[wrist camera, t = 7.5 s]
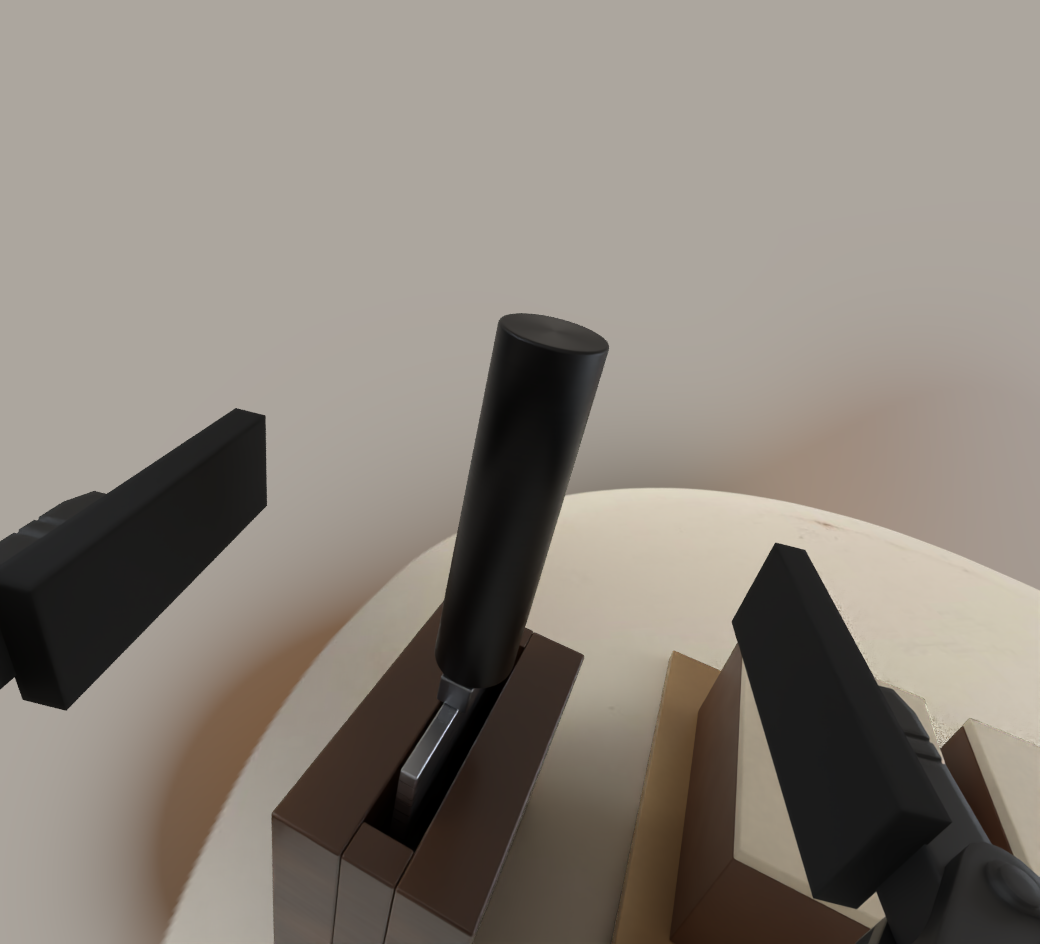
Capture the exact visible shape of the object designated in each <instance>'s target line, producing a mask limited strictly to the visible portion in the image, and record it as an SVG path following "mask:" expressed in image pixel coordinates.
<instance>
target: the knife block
mask: <svg viewBox="0 0 1040 944" xmlns="http://www.w3.org/2000/svg"><path fill="white" fill-rule="evenodd" d="M443 604H444V601H443V602H442V604H441V605H440V606H439V607H438V609H437V610H436V611H435V612H434V614H433V615H432V616H431V617H430V618H429V620H428V621H427V622H426V623H425V625H424V626H423V627H422V628H421V630H420V631H419V632H418V633H417V634H416V636H415V637H414V638H413V639H412V641H411V642H410V643H409V644H408V646H407V647H406V648H405V649H404V651H403V652H402V653H401V654H400V655H399V657H398V658H397V659H396V660H395V662H394V663H393V664H392V665H391V667H390V668H389V669H388V670H387V672H386V673H385V674H384V675H383V676H382V678H381V679H380V680H379V681H378V683H377V684H376V685H375V686H374V688H373V689H372V690H371V691H370V692H369V694H368V695H367V696H366V697H365V699H364V700H363V701H362V702H361V704H360V705H359V706H358V707H357V709H356V710H355V711H354V712H353V713H352V715H351V716H350V717H349V718H348V720H347V721H346V722H345V723H344V725H343V726H342V727H341V728H340V730H339V731H338V732H337V733H336V734H335V736H334V737H333V738H332V739H331V741H330V742H329V743H328V744H327V746H326V747H325V748H324V749H323V750H322V752H321V753H320V754H319V755H318V757H317V758H316V759H315V760H314V762H313V763H312V764H311V765H310V767H309V768H308V769H307V770H306V771H305V773H304V774H303V775H302V776H301V778H300V779H299V780H298V781H297V783H296V784H295V785H294V786H293V788H292V789H291V790H290V791H289V792H288V794H287V795H286V796H285V797H284V799H283V800H282V801H281V802H280V804H279V805H278V806H277V807H276V808H275V810H274V811H273V812H272V867H273V922H274V944H473V941H474V939H475V936H476V934H477V931H478V929H479V926H480V924H481V921H482V918H483V916H484V913H485V911H486V908H487V906H488V903H489V901H490V898H491V896H492V893H493V891H494V888H495V885H496V883H497V880H498V878H499V875H500V873H501V870H502V868H503V865H504V863H505V860H506V857H507V855H508V852H509V850H510V847H511V845H512V842H513V840H514V837H515V835H516V832H517V830H518V827H519V824H520V822H521V819H522V817H523V814H524V812H525V809H526V807H527V804H528V802H529V799H530V796H531V794H532V791H533V789H534V786H535V784H536V781H537V778H538V776H539V773H540V771H541V768H542V765H543V763H544V760H545V758H546V755H547V753H548V750H549V747H550V745H551V742H552V740H553V737H554V734H555V732H556V729H557V727H558V724H559V722H560V719H561V716H562V714H563V711H564V709H565V706H566V703H567V701H568V698H569V696H570V693H571V691H572V688H573V685H574V683H575V680H576V678H577V675H578V672H579V670H580V667H581V665H582V662H583V660H584V655H583V654H581V653H579V652H576V651H574V650H572V649H570V648H568V647H565V646H563V645H561V644H559V643H557V642H555V641H552V640H550V639H548V638H546V637H544V636H542V635H539V634H537V633H533V631H531V630H529V629H527V628H525V629H524V632H523V636H522V639H521V642H520V646H519V649H518V652H517V656H516V659H515V662H514V666H513V669H512V671H511V673H510V674H509V675H508V677H507V678H506V679H504V680H503V681H502V682H500V683H499V684H497V686H496V690H495V693H494V696H493V700H492V703H491V707H490V710H489V714H488V717H487V719H486V721H485V723H484V725H483V727H482V728H481V730H480V732H479V734H478V736H477V738H476V740H475V741H474V743H473V745H472V747H471V749H470V751H469V753H468V754H467V756H466V758H465V760H464V762H463V764H462V766H461V767H460V769H459V771H458V773H457V775H456V777H455V778H454V780H453V782H452V784H451V786H450V788H449V790H448V791H447V793H446V795H445V797H444V799H443V801H442V803H441V804H440V806H439V808H438V810H437V812H436V814H435V816H434V817H433V819H432V821H431V823H430V825H429V827H428V829H427V830H426V832H425V834H424V836H423V838H422V840H421V842H420V843H419V845H418V847H417V849H416V851H415V853H414V852H413V850H412V849H410V848H408V847H406V846H405V845H403V844H401V843H400V842H398V841H396V840H394V839H393V838H391V837H389V833H390V828H391V822H392V816H393V811H394V805H395V800H396V794H397V789H398V783H399V777H400V772H401V769H402V767H403V766H404V764H405V763H406V761H407V760H408V758H409V756H410V755H411V753H412V752H413V750H414V749H415V747H416V746H417V744H418V742H419V741H420V739H421V738H422V736H423V735H424V733H425V732H426V730H427V728H428V727H429V725H430V724H431V722H432V721H433V719H434V718H435V716H436V714H437V713H438V711H439V710H440V708H441V707H442V705H443V704H444V702H442V701H440V700H438V699H437V694H438V689H439V684H440V679H441V676H442V675H443V673H442V671H441V670H440V668H439V667H438V665H437V662H436V659H435V653H434V652H435V645H436V640H437V634H438V629H439V624H440V619H441V614H442V609H443ZM413 854H414V855H413Z"/></svg>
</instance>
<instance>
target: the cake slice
mask: <svg viewBox="0 0 1040 944" xmlns="http://www.w3.org/2000/svg"><path fill="white" fill-rule="evenodd" d="M941 752H942V756H943V759H944V762H945V765H946V766H947V768H948V770H949V771H950V773H951V775H952V777H953V778H954V780H955V782H956V784H957V785H958V787H959V789H960V790H961V792H962V794H963V796H964V797H965V799H966V801H967V802H968V804H969V806H970V808H971V809H972V811H973V813H974V814H975V816H976V818H977V820H978V821H979V823H980V825H981V827H982V828H983V830H984V832H985V833H986V835H987V837H988V839H989V840H990V842H991V844H992V845H995V846H998V847H1000V848H1002V849H1004V850H1005V851H1007V852H1009V853H1010V854H1012V855H1013V856H1015V857H1017V858H1018V859H1020V860H1021V861H1022V862H1023V863H1024V864H1026V865H1027V866H1028V867H1029V868H1030V869H1031V870H1032V871H1033V872H1034V873H1036V874H1037V875H1038V876H1039V877H1040V747H1039V746H1037V745H1035V744H1032V743H1030V742H1027V741H1025V740H1023V739H1020V738H1018V737H1015V736H1013V735H1011V734H1008V733H1006V732H1003V731H1001V730H999V729H996V728H994V727H991V726H989V725H987V724H984V723H982V722H979V721H977V720H974V719H972V718H969V719H968V720H967V721H966V722H965V723H964V725H963V726H962V727H961V728H960V729H959V730H958V731H957V732H956V733H955V734H954V735H953V736H952V737H951V738H950V739H949V740H948V741H947V742H946V743H945V744H944V745H943V747H942V748H941Z"/></svg>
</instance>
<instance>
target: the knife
mask: <svg viewBox="0 0 1040 944" xmlns="http://www.w3.org/2000/svg"><path fill="white" fill-rule="evenodd" d="M608 351H609V345H608V343H607V341H606V340H605V339H604V338H603V337H601V336H600V335H598V334H597V333H595V332H593V331H592V330H589V329H587V328H585V327H583V326H580V325H578V324H575V323H571V322H569V321H565V320H562V319H558V318H554V317H549V316H543V315H536V314H523V313H519V314H509V315H505V316H503V317H502V318H501V319H500V320H499V322H498V327H497V332H496V337H495V342H494V348H493V353H492V357H491V363H490V368H489V373H488V379H487V383H486V388H485V394H484V399H483V405H482V409H481V414H480V419H479V424H478V430H477V435H476V440H475V445H474V450H473V456H472V460H471V465H470V470H469V475H468V481H467V486H466V491H465V496H464V501H463V506H462V511H461V517H460V522H459V527H458V532H457V537H456V542H455V547H454V552H453V557H452V563H451V568H450V573H449V578H448V583H447V588H446V593H445V598H444V604H443V609H442V614H441V619H440V624H439V629H438V634H437V640H436V645H435V652H434V653H435V659H436V662H437V665H438V667H439V668H440V670H441V671H442V673H443V675H442V676H441V679H440V684H439V689H438V694H437V699H438V700H440V701H442V702H444V704H443V705H442V707H441V708H440V710H439V711H438V713H437V714H436V716H435V718H434V719H433V721H432V722H431V724H430V725H429V727H428V728H427V730H426V732H425V733H424V735H423V736H422V738H421V739H420V741H419V742H418V744H417V746H416V747H415V749H414V750H413V752H412V753H411V755H410V756H409V758H408V760H407V761H406V763H405V764H404V766H403V767H402V769H401V772H400V777H399V783H398V789H397V794H396V800H395V805H394V811H393V816H392V822H391V828H390V833H389V837H391V838H393V839H394V840H396V841H398V842H400V843H401V844H403V845H405V846H406V847H408V848H410V849H412V850H413V852H414V853H415V851H416V849H417V847H418V845H419V843H420V842H421V840H422V838H423V836H424V834H425V832H426V830H427V829H428V827H429V825H430V823H431V821H432V819H433V817H434V816H435V814H436V812H437V810H438V808H439V806H440V804H441V803H442V801H443V799H444V797H445V795H446V793H447V791H448V790H449V788H450V786H451V784H452V782H453V780H454V778H455V777H456V775H457V773H458V771H459V769H460V767H461V766H462V764H463V762H464V760H465V758H466V756H467V754H468V753H469V751H470V749H471V747H472V745H473V743H474V741H475V740H476V738H477V736H478V734H479V732H480V730H481V728H482V727H483V725H484V723H485V721H486V719H487V717H488V714H489V710H490V707H491V703H492V700H493V696H494V693H495V690H496V686H497V684H499V683H500V682H502V681H503V680H504V679H506V678H507V677H508V675H509V674H510V673H511V671H512V669H513V666H514V662H515V659H516V656H517V652H518V649H519V646H520V642H521V639H522V636H523V632H524V629H525V626H526V623H527V619H528V616H529V613H530V609H531V606H532V603H533V599H534V596H535V593H536V589H537V586H538V583H539V579H540V576H541V573H542V570H543V566H544V563H545V560H546V556H547V553H548V550H549V546H550V543H551V540H552V536H553V533H554V530H555V526H556V523H557V520H558V516H559V513H560V510H561V507H562V503H563V500H564V497H565V493H566V490H567V487H568V483H569V480H570V477H571V473H572V470H573V467H574V463H575V460H576V457H577V454H578V450H579V447H580V443H581V440H582V437H583V434H584V430H585V427H586V424H587V420H588V417H589V413H590V410H591V407H592V403H593V400H594V397H595V394H596V391H597V387H598V384H599V381H600V377H601V374H602V371H603V367H604V364H605V360H606V357H607V354H608ZM413 855H414V854H413Z"/></svg>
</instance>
